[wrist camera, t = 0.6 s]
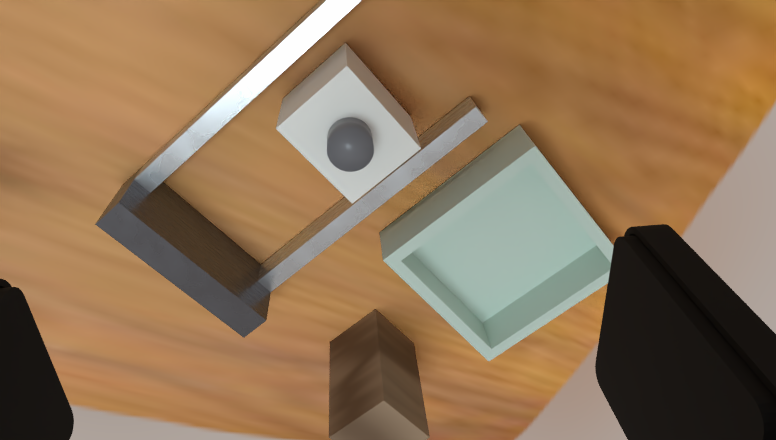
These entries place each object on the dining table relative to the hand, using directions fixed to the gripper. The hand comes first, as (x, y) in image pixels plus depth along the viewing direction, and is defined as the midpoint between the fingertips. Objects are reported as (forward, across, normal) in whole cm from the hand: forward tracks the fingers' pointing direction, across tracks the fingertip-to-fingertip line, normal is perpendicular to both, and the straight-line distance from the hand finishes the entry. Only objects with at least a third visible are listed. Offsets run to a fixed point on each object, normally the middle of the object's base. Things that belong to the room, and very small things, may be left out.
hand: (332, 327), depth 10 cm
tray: (+28, -10, +16) cm, 34 cm away
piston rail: (+28, +3, +8) cm, 29 cm away
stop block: (+28, -1, +24) cm, 37 cm away
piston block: (+28, 0, +6) cm, 28 cm away
